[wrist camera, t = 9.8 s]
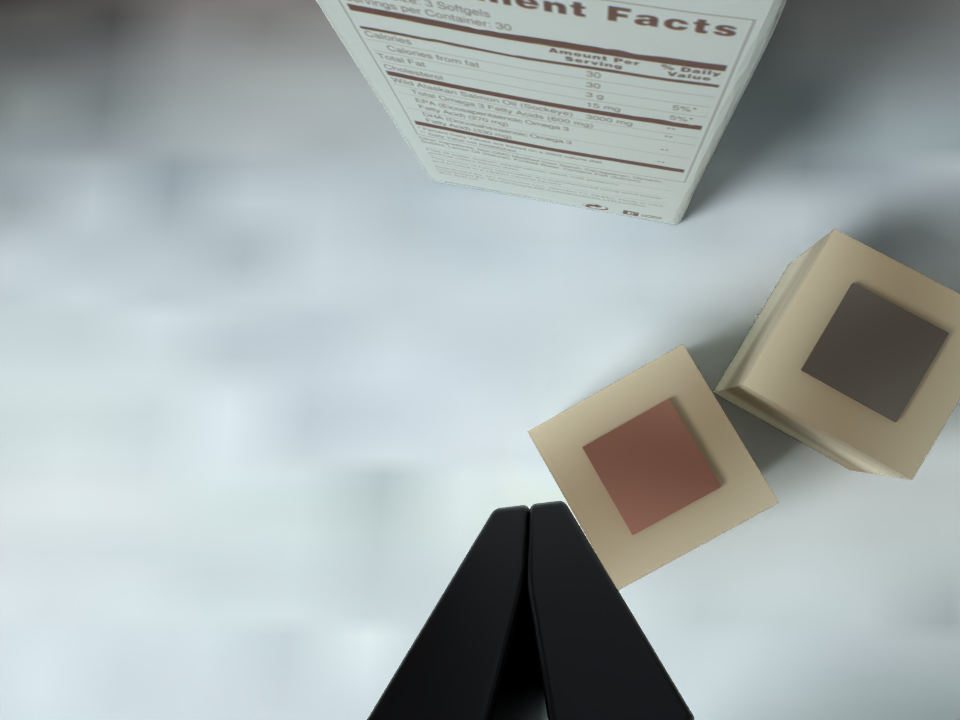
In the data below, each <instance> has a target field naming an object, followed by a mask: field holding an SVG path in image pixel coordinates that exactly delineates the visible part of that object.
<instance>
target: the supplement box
mask: <svg viewBox="0 0 960 720" xmlns="http://www.w3.org/2000/svg"><path fill="white" fill-rule="evenodd" d="M316 1H317V3H318V4H319V6H320V7H321V9H322V10H323V12H324V14H325V15H326V17H327V19H328V20H329V22H330V24H331V25H332V27H333V28H334V30H335V32H336V33H337V35H338V36H339V38H340V39H341V41H342V42H343V44H344V45H345V47H346V49H347V50H348V52H349V53H350V55H351V57H352V58H353V60H354V61H355V63H356V64H357V66H358V67H359V69H360V70H361V72H362V73H363V75H364V76H365V78H366V80H367V81H368V83H369V84H370V86H371V88H372V89H373V91H374V92H375V94H376V95H377V97H378V99H379V100H380V102H381V103H382V105H383V106H384V108H385V109H386V111H387V112H388V114H389V115H390V117H391V118H392V120H393V122H394V123H395V125H396V127H397V129H398V130H399V132H400V133H401V134H402V136H403V137H404V139H405V140H406V142H407V144H408V145H409V147H410V149H411V150H412V152H413V153H414V155H415V156H416V158H417V159H418V161H419V162H420V164H421V165H422V167H423V168H424V170H425V172H426V173H427V175H428V176H429V178H430V179H431V180H432V181H434V182H438V183H446V184H452V185H458V186H464V187H469V188H475V189H480V190H486V191H492V192H497V193H502V194H508V195H514V196H519V197H525V198H531V199H536V200H540V201H546V202H552V203H557V204H562V205H568V206H574V207H579V208H585V209H590V210H595V211H601V212H606V213H612V214H618V215H623V216H629V217H636V218H641V219H646V220H651V221H656V222H662V223H668V224H678V223H680V222H681V220H682V218H683V216H684V214H685V212H686V210H687V208H688V205H689V203H690V201H691V199H692V196H693V194H694V191H695V189H696V187H697V186H698V184H699V182H700V180H701V178H702V176H703V174H704V172H705V170H706V168H707V166H708V164H709V162H710V160H711V158H712V155H713V153H714V151H715V149H716V147H717V145H718V143H719V141H720V139H721V137H722V135H723V133H724V131H725V129H726V127H727V125H728V123H729V121H730V119H731V117H732V115H733V113H734V111H735V109H736V107H737V105H738V104H739V102H740V100H741V98H742V96H743V94H744V92H745V90H746V88H747V86H748V84H749V82H750V80H751V78H752V75H753V73H754V71H755V69H756V67H757V65H758V63H759V61H760V59H761V57H762V55H763V53H764V51H765V49H766V47H767V45H768V43H769V41H770V38H771V36H772V34H773V32H774V30H775V28H776V25H777V23H778V21H779V18H780V16H781V13H782V11H783V9H784V6H785V4H786V1H787V0H316Z"/></svg>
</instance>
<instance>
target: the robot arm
mask: <svg viewBox="0 0 960 720" xmlns="http://www.w3.org/2000/svg"><path fill="white" fill-rule="evenodd" d="M367 720H694V716H693V714H692V713H691V711H690V709H689V708H688V706H687V704H686V703H685V701H684V699H683V698H682V696H681V694H680V693H679V691H678V689H677V688H676V686H675V684H674V683H673V681H672V679H671V678H670V676H669V674H668V673H667V671H666V669H665V668H664V666H663V664H662V663H661V661H660V659H659V658H658V656H657V654H656V653H655V651H654V649H653V648H652V646H651V644H650V643H649V641H648V639H647V638H646V636H645V634H644V633H643V631H642V629H641V628H640V626H639V624H638V623H637V621H636V619H635V618H634V616H633V614H632V613H631V611H630V609H629V608H628V606H627V604H626V603H625V601H624V599H623V598H622V596H621V594H620V593H619V591H618V589H617V588H616V586H615V584H614V583H613V581H612V579H611V578H610V576H609V574H608V573H607V571H606V569H605V568H604V566H603V564H602V563H601V561H600V559H599V558H598V556H597V554H596V553H595V551H594V549H593V548H592V546H591V544H590V543H589V541H588V539H587V538H586V536H585V535H584V533H583V531H582V530H581V528H580V526H579V525H578V523H577V521H576V520H575V518H574V516H573V515H572V513H571V511H570V510H569V508H568V506H567V505H566V504H565V503H564V502H562V501H555V502H547V503H538V504H534V505H532V506H531V508H530V509H529V508H528V507H527V506H524V505H521V506H513V507H505V508H498V509H496V510H494V511H493V512H492V514H491V515H490V517H489V519H488V520H487V522H486V524H485V525H484V527H483V529H482V530H481V532H480V534H479V535H478V537H477V539H476V540H475V542H474V544H473V545H472V547H471V549H470V550H469V552H468V554H467V555H466V557H465V558H464V560H463V562H462V563H461V565H460V567H459V568H458V570H457V572H456V573H455V575H454V577H453V578H452V580H451V582H450V583H449V585H448V587H447V588H446V590H445V592H444V593H443V595H442V597H441V598H440V600H439V602H438V603H437V605H436V606H435V608H434V610H433V611H432V613H431V615H430V616H429V618H428V620H427V621H426V623H425V625H424V626H423V628H422V630H421V631H420V633H419V635H418V636H417V638H416V640H415V641H414V643H413V645H412V646H411V648H410V650H409V651H408V653H407V654H406V656H405V658H404V659H403V661H402V663H401V664H400V666H399V668H398V669H397V671H396V673H395V674H394V676H393V678H392V679H391V681H390V683H389V684H388V686H387V688H386V689H385V691H384V693H383V694H382V696H381V698H380V699H379V701H378V703H377V704H376V706H375V707H374V709H373V711H372V712H371V714H370V716H369V717H368V719H367Z"/></svg>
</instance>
